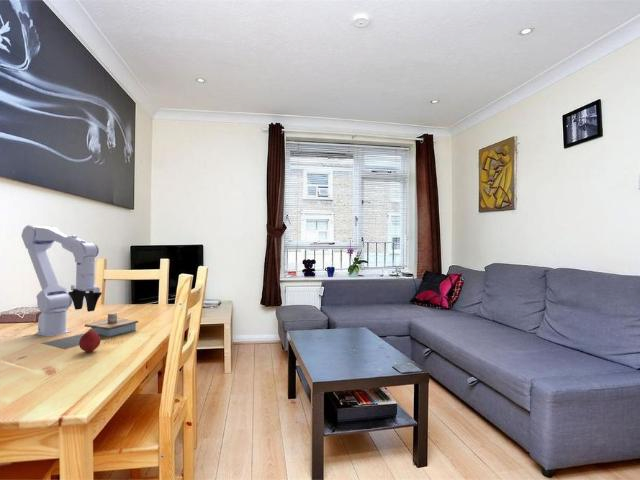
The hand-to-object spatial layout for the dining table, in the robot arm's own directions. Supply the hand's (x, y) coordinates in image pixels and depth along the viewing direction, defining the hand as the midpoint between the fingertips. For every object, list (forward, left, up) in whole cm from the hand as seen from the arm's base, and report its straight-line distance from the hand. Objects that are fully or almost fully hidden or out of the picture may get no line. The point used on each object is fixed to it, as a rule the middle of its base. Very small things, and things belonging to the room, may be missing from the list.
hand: (84, 310), depth 128 cm
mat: (+3, -5, -10) cm, 12 cm away
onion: (+20, -10, -11) cm, 25 cm away
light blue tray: (+3, +9, -10) cm, 14 cm away
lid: (+3, +9, -7) cm, 12 cm away
